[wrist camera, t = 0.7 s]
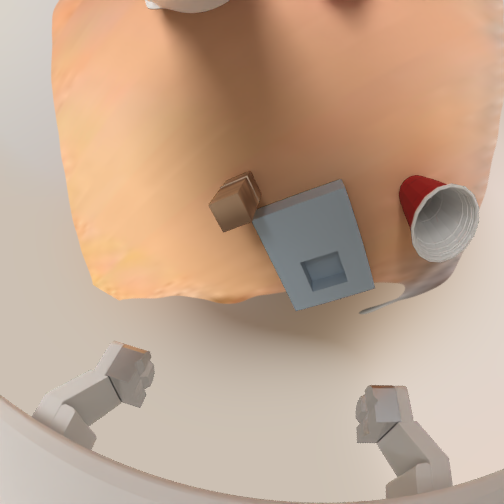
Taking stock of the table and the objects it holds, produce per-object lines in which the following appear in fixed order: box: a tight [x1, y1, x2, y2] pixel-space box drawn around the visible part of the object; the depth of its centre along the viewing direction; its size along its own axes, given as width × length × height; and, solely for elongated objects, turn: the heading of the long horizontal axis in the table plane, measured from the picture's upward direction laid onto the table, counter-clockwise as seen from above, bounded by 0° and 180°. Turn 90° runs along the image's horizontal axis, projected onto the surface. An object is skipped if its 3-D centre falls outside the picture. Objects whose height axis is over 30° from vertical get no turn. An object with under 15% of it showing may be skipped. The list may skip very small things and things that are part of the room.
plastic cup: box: [399, 175, 479, 262], centre depth 35 cm, size 11×11×12 cm
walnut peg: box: [209, 171, 261, 232], centre depth 40 cm, size 4×4×10 cm
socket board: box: [252, 179, 375, 311], centre depth 45 cm, size 18×14×4 cm
